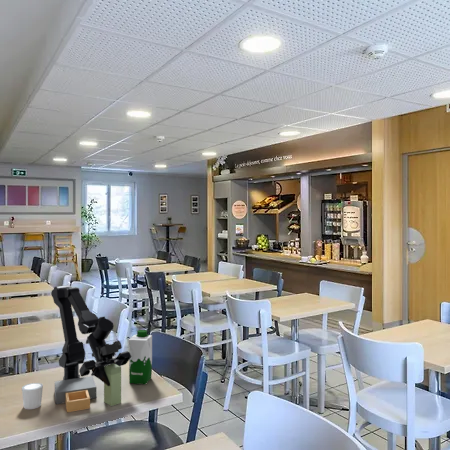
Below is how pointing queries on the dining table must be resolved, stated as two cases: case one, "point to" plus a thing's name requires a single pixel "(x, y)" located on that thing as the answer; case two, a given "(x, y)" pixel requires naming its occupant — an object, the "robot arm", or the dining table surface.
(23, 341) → the dining table surface
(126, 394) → the dining table surface
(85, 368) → the robot arm
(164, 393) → the dining table surface
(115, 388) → the green tall box
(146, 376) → the milk carton
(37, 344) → the dining table surface
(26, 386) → the white cup
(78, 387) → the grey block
